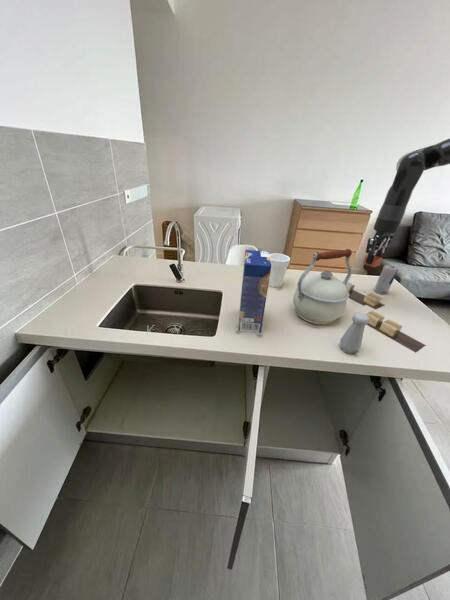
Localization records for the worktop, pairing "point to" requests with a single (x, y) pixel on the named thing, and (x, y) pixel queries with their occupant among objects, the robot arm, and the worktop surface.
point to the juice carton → (254, 290)
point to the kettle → (322, 291)
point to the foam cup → (278, 269)
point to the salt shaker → (354, 333)
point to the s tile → (375, 262)
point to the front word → (393, 331)
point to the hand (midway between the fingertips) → (372, 262)
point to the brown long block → (365, 298)
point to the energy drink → (385, 279)
